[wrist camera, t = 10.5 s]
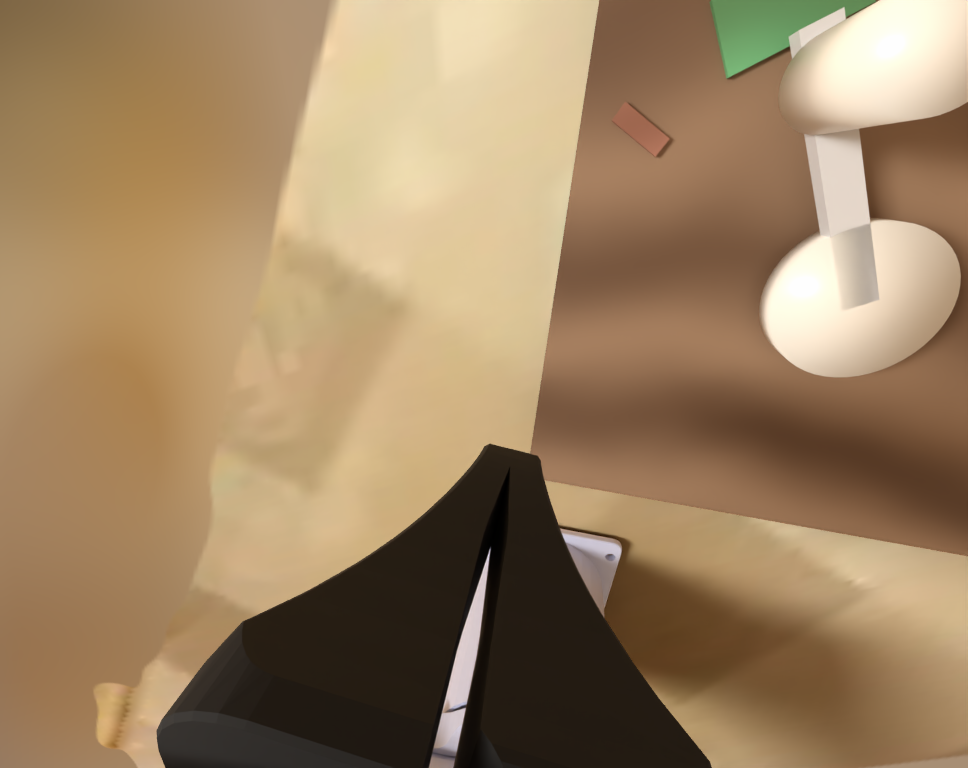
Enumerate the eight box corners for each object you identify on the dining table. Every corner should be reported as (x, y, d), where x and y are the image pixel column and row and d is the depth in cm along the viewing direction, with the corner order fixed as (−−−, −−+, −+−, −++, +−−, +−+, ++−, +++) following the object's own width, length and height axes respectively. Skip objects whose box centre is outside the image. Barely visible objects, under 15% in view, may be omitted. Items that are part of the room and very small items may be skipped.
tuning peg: (940, 337, 14) (1102, 411, 10) (773, 383, 16) (849, 463, 12) (914, -27, 11) (1145, -162, 7) (705, 79, 13) (776, 30, 8)
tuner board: (950, 531, 19) (981, 561, 18) (529, 458, 22) (526, 479, 20) (1425, -84, 10) (1571, -128, 9) (613, -89, 13) (618, -124, 11)
